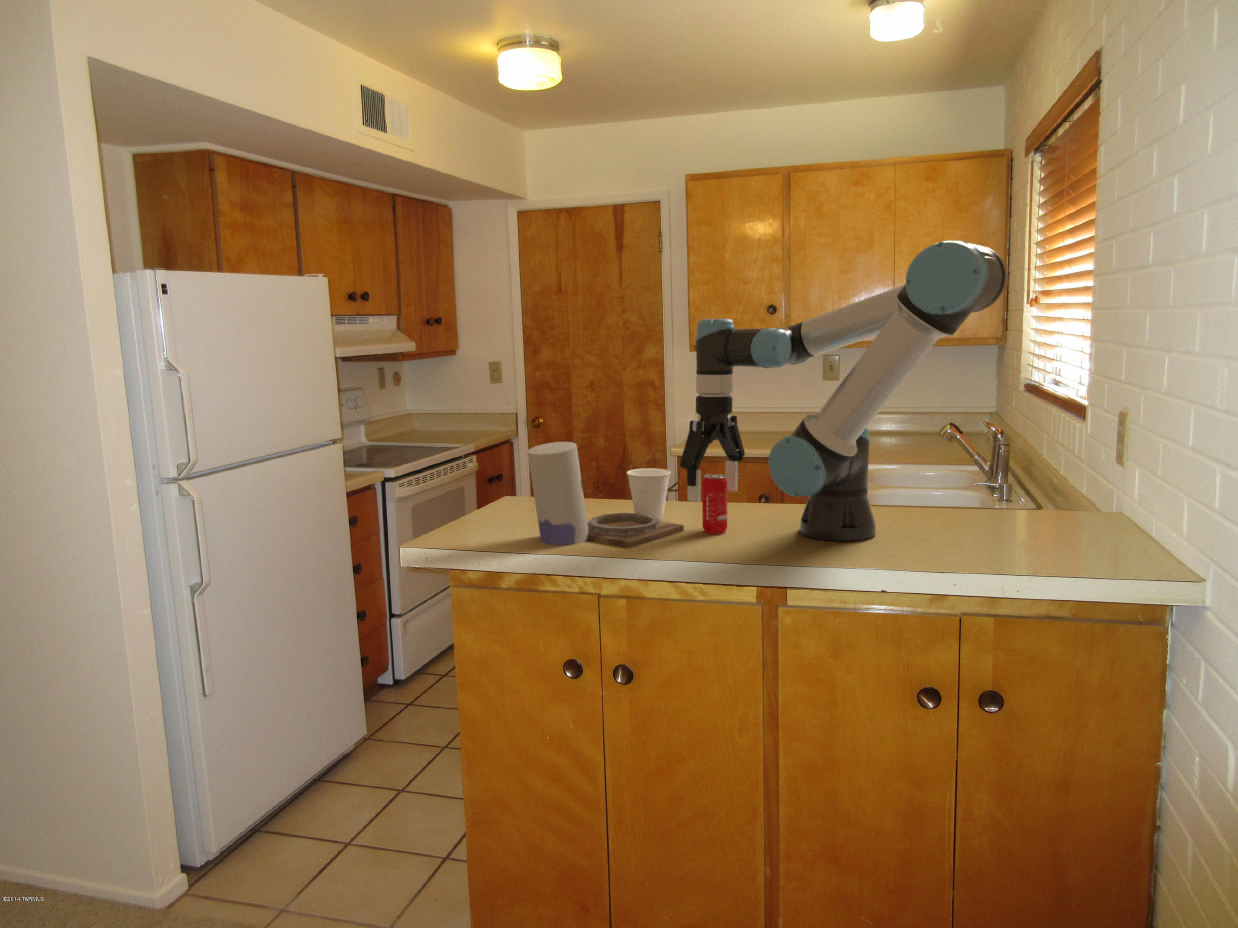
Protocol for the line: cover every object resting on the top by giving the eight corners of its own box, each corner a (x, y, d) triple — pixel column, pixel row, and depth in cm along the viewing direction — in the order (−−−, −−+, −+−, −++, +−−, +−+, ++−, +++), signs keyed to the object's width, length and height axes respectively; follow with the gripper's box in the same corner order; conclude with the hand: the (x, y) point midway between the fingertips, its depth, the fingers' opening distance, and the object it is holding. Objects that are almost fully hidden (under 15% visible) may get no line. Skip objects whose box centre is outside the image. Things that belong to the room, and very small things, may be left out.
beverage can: (708, 535, 177) (707, 478, 175) (698, 530, 181) (698, 474, 180) (731, 533, 178) (731, 476, 176) (721, 528, 183) (721, 473, 181)
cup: (672, 524, 187) (671, 475, 186) (627, 525, 187) (626, 476, 186) (670, 514, 197) (669, 467, 195) (627, 515, 197) (626, 468, 196)
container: (598, 534, 178) (586, 441, 173) (570, 551, 170) (556, 454, 165) (560, 530, 183) (547, 440, 178) (531, 546, 175) (517, 452, 171)
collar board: (683, 530, 181) (683, 518, 181) (628, 548, 168) (628, 534, 168) (619, 519, 193) (619, 507, 193) (563, 535, 180) (563, 522, 179)
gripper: (732, 389, 187) (731, 484, 190) (662, 398, 168) (662, 503, 172) (762, 391, 182) (760, 488, 186) (693, 400, 163) (692, 508, 167)
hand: (713, 495), depth 179 cm, fingers open, 13 cm apart
